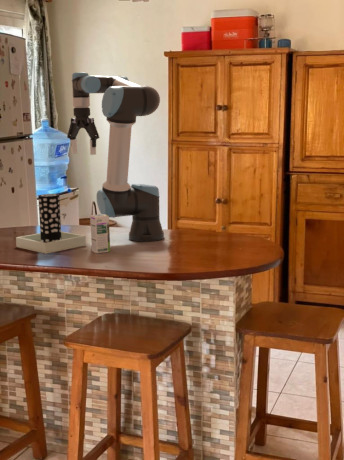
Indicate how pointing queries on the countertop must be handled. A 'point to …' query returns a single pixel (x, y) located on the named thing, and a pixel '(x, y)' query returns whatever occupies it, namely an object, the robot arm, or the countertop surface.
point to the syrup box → (100, 233)
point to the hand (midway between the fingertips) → (83, 154)
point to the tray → (36, 245)
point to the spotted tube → (49, 217)
